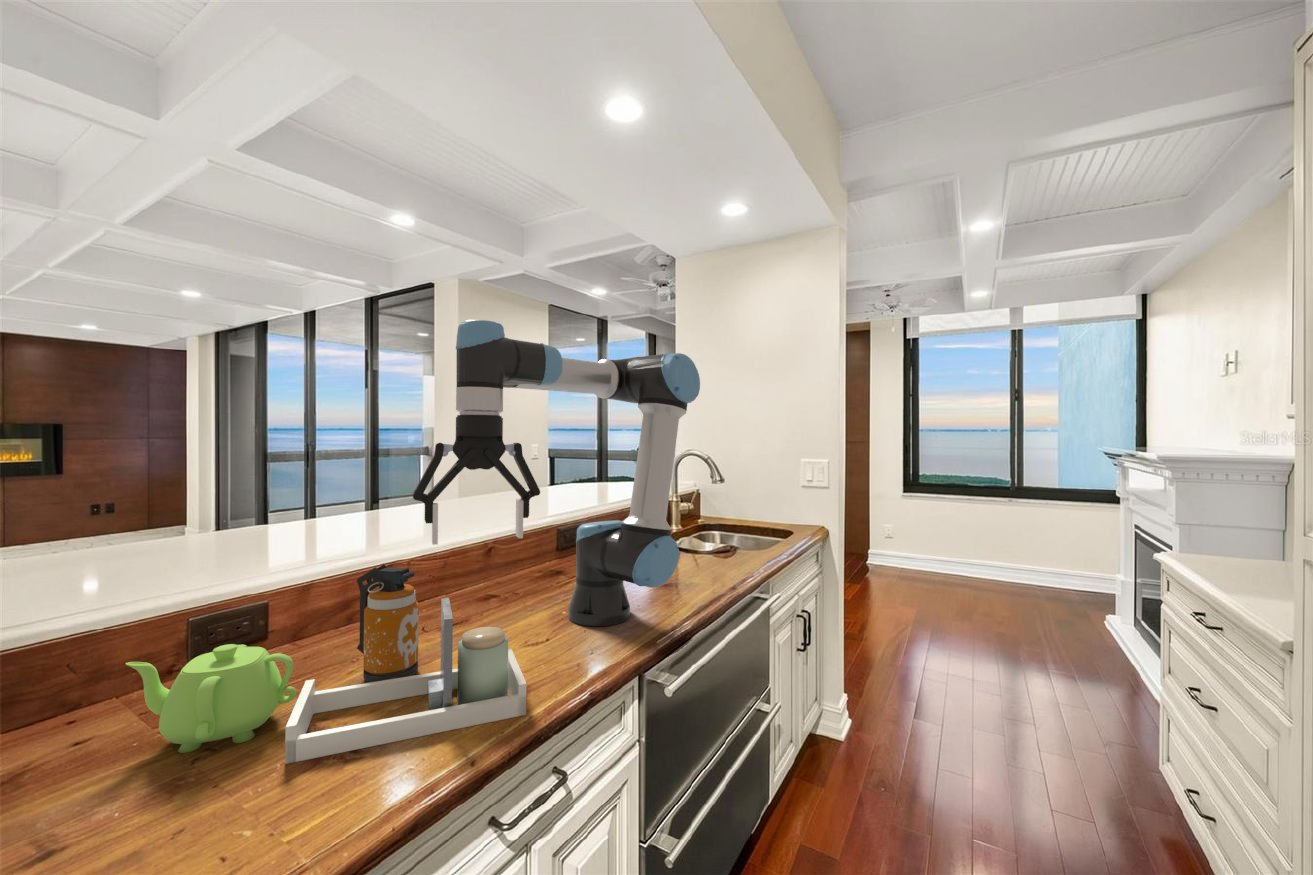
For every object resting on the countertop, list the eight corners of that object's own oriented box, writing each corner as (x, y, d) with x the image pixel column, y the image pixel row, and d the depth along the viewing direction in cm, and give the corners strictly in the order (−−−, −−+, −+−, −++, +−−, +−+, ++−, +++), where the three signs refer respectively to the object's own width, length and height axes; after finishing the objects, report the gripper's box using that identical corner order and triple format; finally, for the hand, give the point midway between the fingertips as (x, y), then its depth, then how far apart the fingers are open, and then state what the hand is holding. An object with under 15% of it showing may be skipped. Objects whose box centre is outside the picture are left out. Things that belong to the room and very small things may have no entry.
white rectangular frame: (511, 676, 97) (511, 649, 97) (526, 714, 84) (526, 683, 84) (305, 711, 84) (305, 680, 84) (285, 764, 71) (285, 727, 71)
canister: (396, 689, 92) (397, 574, 91) (341, 682, 94) (342, 570, 94) (428, 667, 100) (429, 562, 100) (377, 661, 103) (378, 558, 102)
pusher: (447, 690, 91) (448, 597, 91) (451, 721, 81) (452, 618, 81) (427, 693, 90) (428, 600, 90) (428, 726, 80) (430, 621, 80)
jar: (503, 685, 94) (504, 623, 94) (511, 707, 86) (512, 639, 86) (455, 694, 90) (456, 629, 90) (459, 717, 83) (460, 647, 83)
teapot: (171, 781, 67) (171, 683, 67) (124, 748, 74) (124, 659, 74) (304, 720, 82) (305, 639, 82) (255, 697, 88) (255, 622, 88)
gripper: (547, 416, 98) (546, 530, 98) (397, 412, 87) (396, 541, 87) (558, 415, 91) (556, 538, 91) (396, 411, 80) (395, 550, 80)
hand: (478, 540), depth 89 cm, fingers open, 13 cm apart
